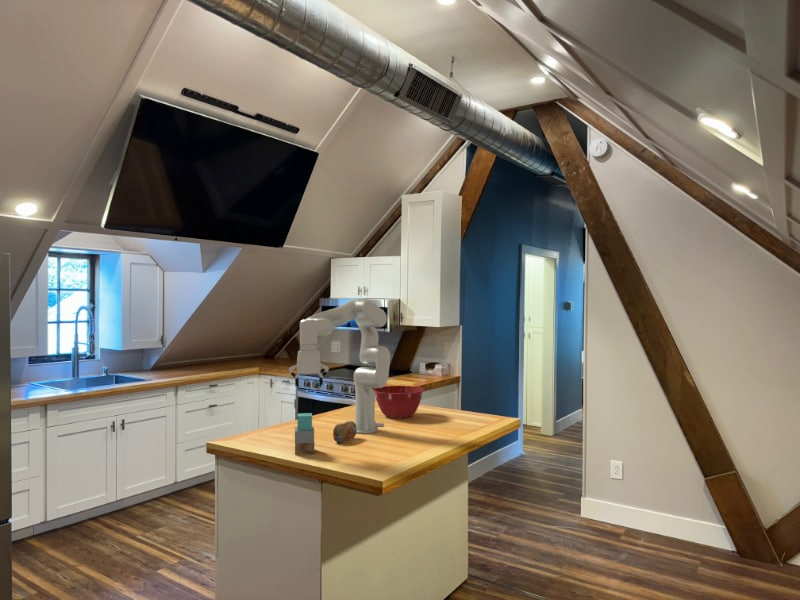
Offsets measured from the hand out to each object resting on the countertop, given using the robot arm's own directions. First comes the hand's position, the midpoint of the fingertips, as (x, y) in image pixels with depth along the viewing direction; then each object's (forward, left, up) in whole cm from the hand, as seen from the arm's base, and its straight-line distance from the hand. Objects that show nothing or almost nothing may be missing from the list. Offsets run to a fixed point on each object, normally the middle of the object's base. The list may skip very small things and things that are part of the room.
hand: (309, 387), depth 245 cm
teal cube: (+2, +5, -17) cm, 18 cm away
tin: (-16, -13, -27) cm, 34 cm away
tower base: (+2, +5, -27) cm, 28 cm away
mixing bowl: (-49, -65, -27) cm, 86 cm away
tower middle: (+2, +5, -22) cm, 23 cm away
